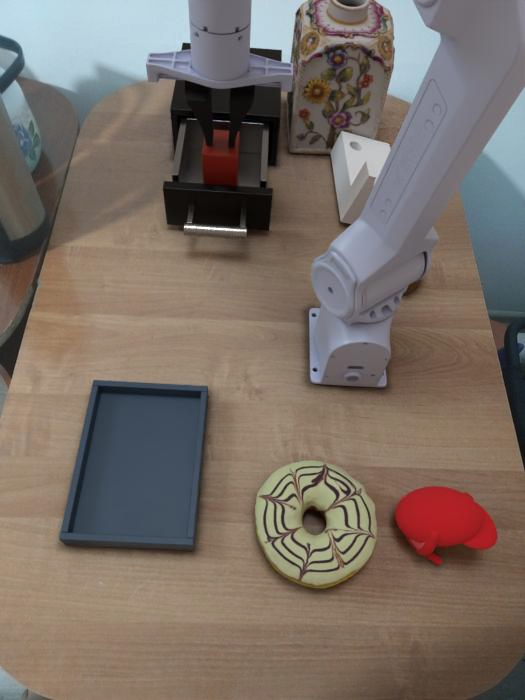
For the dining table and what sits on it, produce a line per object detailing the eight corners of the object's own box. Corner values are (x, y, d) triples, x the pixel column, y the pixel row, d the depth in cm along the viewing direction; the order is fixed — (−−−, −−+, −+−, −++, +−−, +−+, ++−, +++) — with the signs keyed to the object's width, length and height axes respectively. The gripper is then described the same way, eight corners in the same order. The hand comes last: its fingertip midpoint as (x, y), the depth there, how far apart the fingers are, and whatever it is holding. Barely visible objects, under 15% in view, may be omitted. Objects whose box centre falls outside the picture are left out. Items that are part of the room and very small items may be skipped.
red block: (236, 203, 69) (237, 156, 63) (203, 200, 68) (201, 154, 63) (238, 178, 71) (239, 131, 65) (206, 176, 71) (205, 128, 65)
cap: (386, 557, 50) (405, 541, 44) (390, 492, 53) (407, 470, 48) (477, 574, 49) (506, 560, 44) (475, 507, 52) (502, 487, 47)
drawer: (268, 258, 66) (271, 223, 61) (162, 251, 65) (157, 215, 60) (271, 157, 75) (275, 119, 70) (179, 150, 75) (176, 112, 70)
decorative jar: (285, 102, 83) (299, -32, 68) (363, 106, 84) (394, -26, 68) (287, 156, 77) (302, 21, 61) (371, 160, 77) (407, 28, 62)
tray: (194, 550, 49) (193, 545, 47) (64, 545, 48) (58, 539, 47) (208, 395, 57) (207, 385, 55) (97, 389, 56) (93, 379, 55)
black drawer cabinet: (275, 166, 76) (280, 116, 69) (174, 159, 75) (169, 108, 69) (277, 99, 83) (281, 49, 77) (185, 93, 83) (182, 42, 76)
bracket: (391, 233, 71) (423, 189, 65) (340, 221, 69) (369, 175, 63) (376, 164, 78) (404, 118, 72) (330, 152, 76) (355, 104, 70)
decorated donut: (331, 451, 54) (337, 436, 51) (392, 554, 50) (404, 544, 46) (234, 498, 51) (235, 485, 48) (290, 612, 47) (295, 606, 43)
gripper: (298, 1, 54) (285, 123, 66) (147, -11, 54) (161, 114, 65) (298, 42, 50) (284, 163, 62) (136, 29, 50) (152, 154, 61)
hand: (220, 141), depth 63 cm, fingers closed
